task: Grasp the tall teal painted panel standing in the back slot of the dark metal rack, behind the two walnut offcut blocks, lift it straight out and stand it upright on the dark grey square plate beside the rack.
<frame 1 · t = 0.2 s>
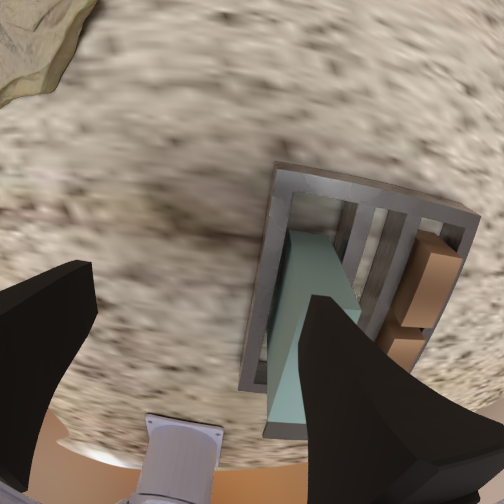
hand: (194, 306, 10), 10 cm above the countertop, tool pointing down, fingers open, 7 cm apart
rack: (348, 295, 21), on the countertop
dark grey square plate: (324, 410, 27), on the countertop
walnut offcut 1: (380, 331, 23), resting in rack
teal panel: (295, 287, 21), resting in rack
walnut offcut 2: (408, 263, 20), resting in rack
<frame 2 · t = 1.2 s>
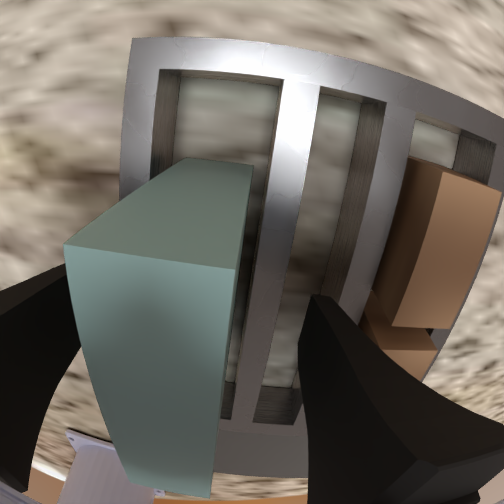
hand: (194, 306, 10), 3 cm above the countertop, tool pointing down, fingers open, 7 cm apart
rack: (301, 272, 13), on the countertop
dark grey square plate: (285, 444, 18), on the countertop
walnut offcut 1: (362, 335, 14), resting in rack
teal panel: (209, 259, 13), resting in rack
walnut offcut 2: (403, 217, 12), resting in rack
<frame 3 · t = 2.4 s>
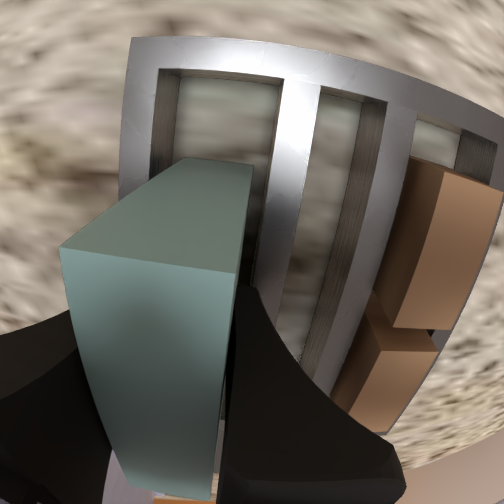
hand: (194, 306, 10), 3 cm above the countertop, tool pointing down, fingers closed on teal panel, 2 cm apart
rack: (301, 273, 13), on the countertop
walnut offcut 1: (363, 335, 14), resting in rack
teal panel: (209, 260, 13), resting in rack, touching gripper
walnut offcut 2: (404, 217, 12), resting in rack
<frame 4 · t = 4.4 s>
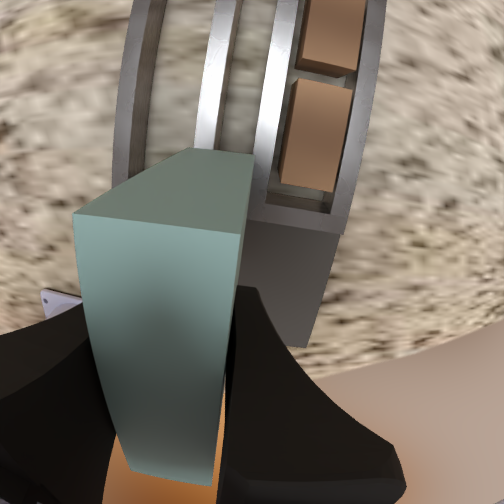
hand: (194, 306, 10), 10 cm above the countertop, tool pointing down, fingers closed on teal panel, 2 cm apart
rack: (248, 69, 16), on the countertop
dark grey square plate: (250, 279, 21), on the countertop
walnut offcut 1: (306, 130, 17), resting in rack
teal panel: (211, 248, 13), point 7 cm above the countertop, touching gripper
walnut offcut 2: (322, 35, 15), resting in rack
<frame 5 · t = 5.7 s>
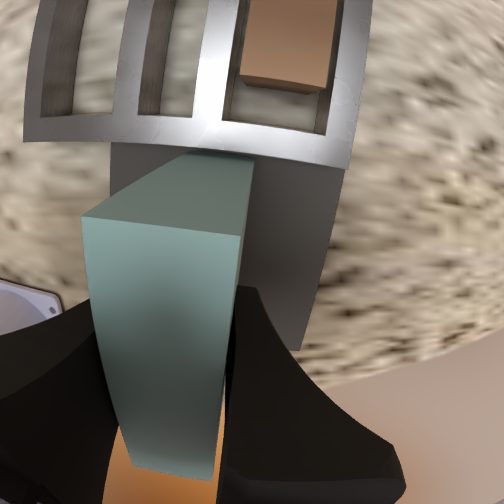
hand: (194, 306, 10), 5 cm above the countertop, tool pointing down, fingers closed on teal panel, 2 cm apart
dark grey square plate: (214, 252, 15), on the countertop
walnut offcut 1: (284, 34, 11), resting in rack
teal panel: (212, 249, 13), point 1 cm above the countertop, touching gripper
when the fingers open (5 cm above the countertop, at t = 6.5 s): teal panel stays where it is, resting on dark grey square plate.
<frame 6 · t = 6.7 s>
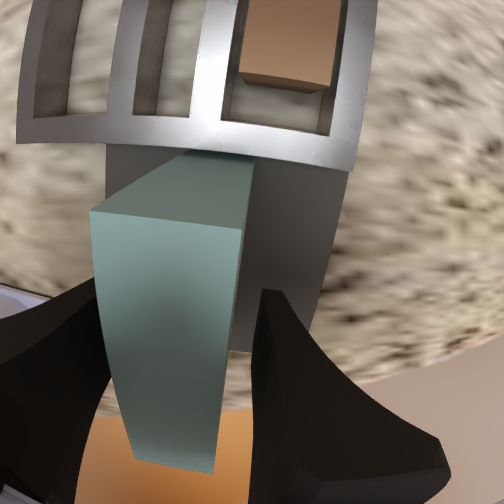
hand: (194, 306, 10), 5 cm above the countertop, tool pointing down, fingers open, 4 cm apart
dark grey square plate: (213, 256, 14), on the countertop
walnut offcut 1: (286, 31, 10), resting in rack
teal panel: (213, 245, 14), resting on dark grey square plate
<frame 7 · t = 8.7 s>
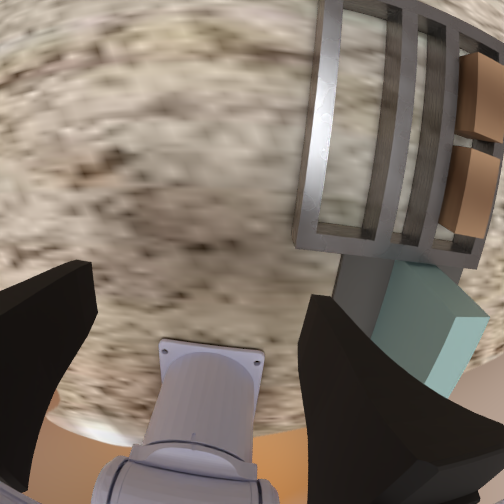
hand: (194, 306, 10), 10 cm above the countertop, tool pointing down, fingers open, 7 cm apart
rack: (408, 126, 17), on the countertop
dark grey square plate: (392, 312, 22), on the countertop
walnut offcut 1: (446, 182, 18), resting in rack
teal panel: (396, 306, 21), resting on dark grey square plate
walnut offcut 2: (457, 99, 16), resting in rack
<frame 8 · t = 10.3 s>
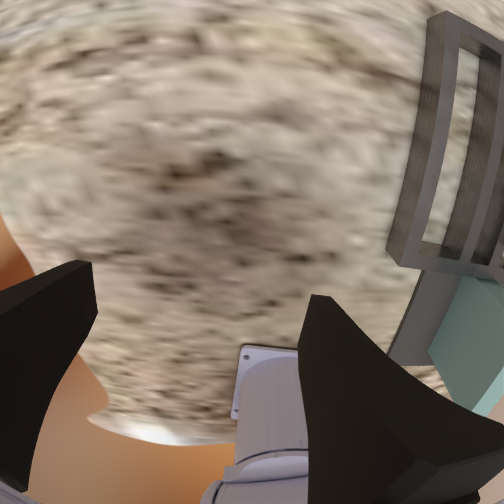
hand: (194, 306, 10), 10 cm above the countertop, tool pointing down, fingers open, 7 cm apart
rack: (487, 158, 17), on the countertop
dark grey square plate: (452, 317, 22), on the countertop
teal panel: (457, 313, 22), resting on dark grey square plate
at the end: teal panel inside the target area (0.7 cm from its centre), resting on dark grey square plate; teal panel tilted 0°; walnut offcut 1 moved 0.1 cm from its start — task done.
